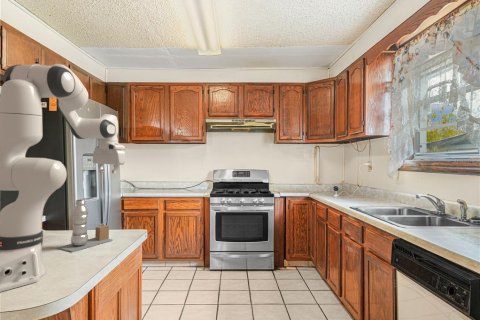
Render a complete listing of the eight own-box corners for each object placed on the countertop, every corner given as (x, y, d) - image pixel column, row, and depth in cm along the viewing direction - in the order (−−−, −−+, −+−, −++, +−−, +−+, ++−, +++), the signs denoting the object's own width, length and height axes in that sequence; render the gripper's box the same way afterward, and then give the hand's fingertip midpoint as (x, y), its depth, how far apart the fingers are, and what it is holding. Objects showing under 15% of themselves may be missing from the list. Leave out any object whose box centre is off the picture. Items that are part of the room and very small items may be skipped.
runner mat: (71, 252, 116) (72, 236, 116) (57, 248, 120) (57, 233, 120) (113, 240, 134) (114, 226, 134) (99, 237, 139) (100, 224, 139)
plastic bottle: (90, 243, 127) (92, 199, 127) (81, 247, 120) (82, 201, 120) (77, 242, 127) (78, 198, 128) (67, 247, 121) (68, 200, 121)
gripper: (89, 145, 146) (88, 172, 146) (117, 146, 137) (116, 174, 137) (100, 146, 151) (99, 171, 151) (127, 146, 142) (126, 173, 142)
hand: (107, 173), depth 144 cm, fingers open, 8 cm apart
